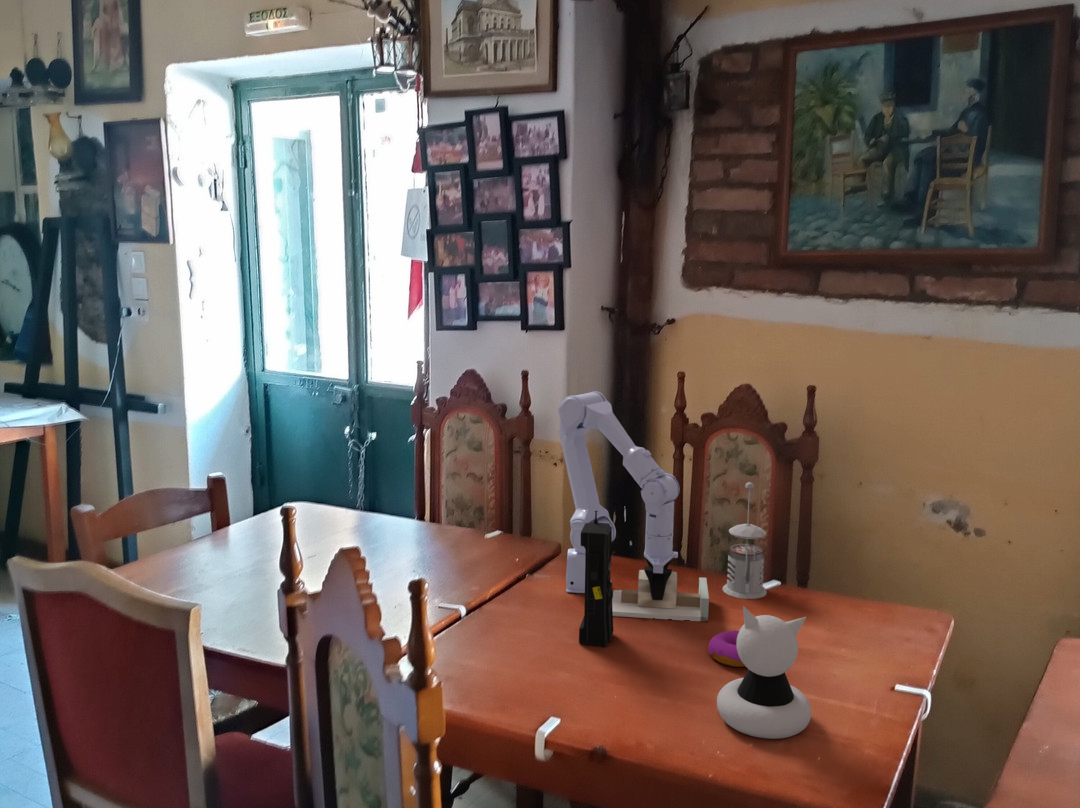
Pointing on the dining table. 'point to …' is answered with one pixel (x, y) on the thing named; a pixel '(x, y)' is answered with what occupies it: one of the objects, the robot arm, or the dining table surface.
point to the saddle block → (645, 592)
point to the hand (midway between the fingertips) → (657, 593)
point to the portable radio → (597, 584)
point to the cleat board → (686, 608)
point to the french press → (746, 562)
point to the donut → (726, 649)
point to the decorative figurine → (765, 681)
